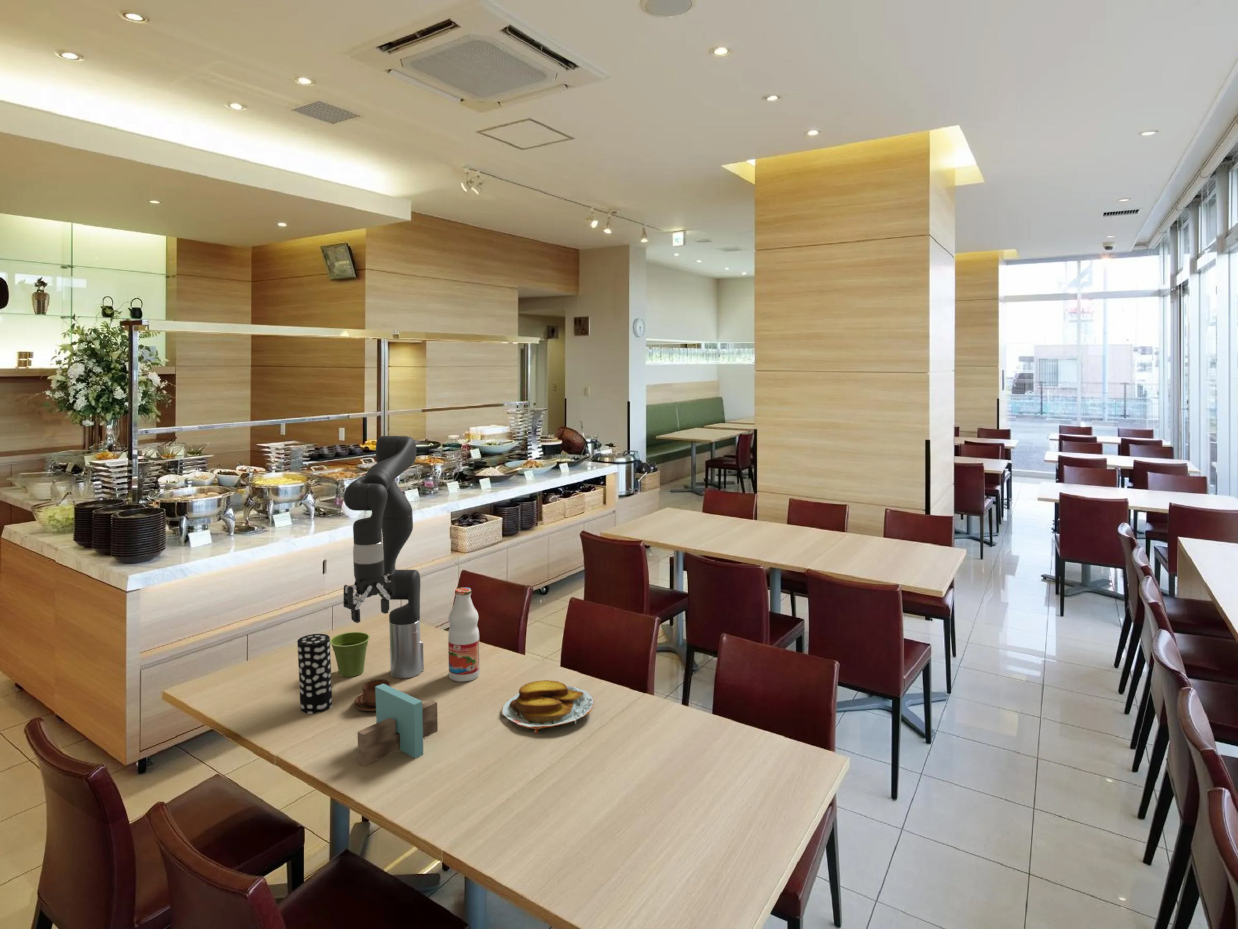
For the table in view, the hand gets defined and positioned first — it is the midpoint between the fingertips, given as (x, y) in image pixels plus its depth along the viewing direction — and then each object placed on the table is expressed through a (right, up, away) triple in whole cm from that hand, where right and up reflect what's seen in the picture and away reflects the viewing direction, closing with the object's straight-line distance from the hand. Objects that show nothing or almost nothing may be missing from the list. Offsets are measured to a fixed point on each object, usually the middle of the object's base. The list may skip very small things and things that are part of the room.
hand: (371, 617), depth 192 cm
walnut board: (+10, -31, -8) cm, 34 cm away
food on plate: (+46, -30, +12) cm, 56 cm away
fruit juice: (+17, -26, +34) cm, 46 cm away
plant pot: (-18, -25, +35) cm, 47 cm away
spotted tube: (-20, -28, +12) cm, 37 cm away
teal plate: (+10, -31, -8) cm, 34 cm away
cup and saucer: (-3, -28, +14) cm, 32 cm away
